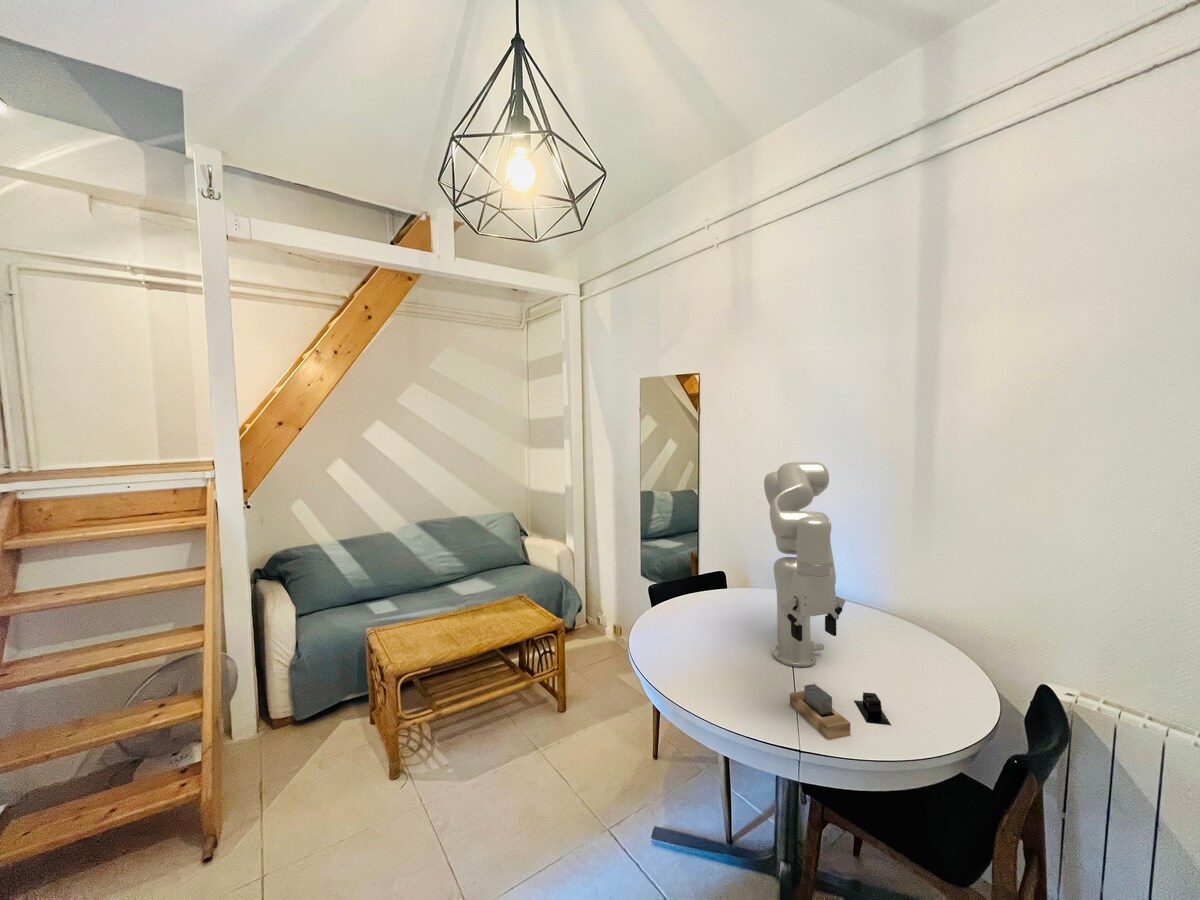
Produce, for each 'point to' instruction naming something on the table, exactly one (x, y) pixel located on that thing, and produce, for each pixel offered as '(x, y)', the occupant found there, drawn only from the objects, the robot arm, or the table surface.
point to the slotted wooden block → (821, 718)
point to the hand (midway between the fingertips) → (813, 636)
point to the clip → (818, 700)
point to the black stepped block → (872, 709)
